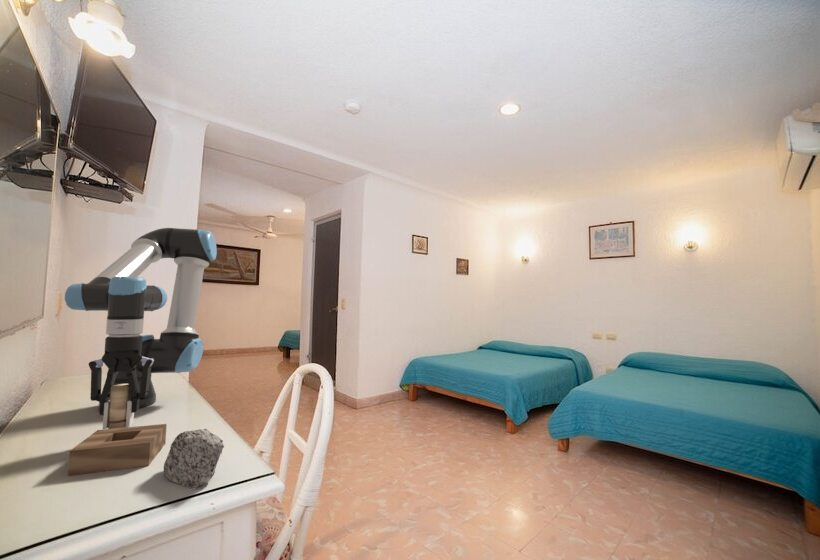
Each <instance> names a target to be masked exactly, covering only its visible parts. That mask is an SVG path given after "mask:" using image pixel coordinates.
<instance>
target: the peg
mask: <svg viewBox="0 0 820 560" xmlns="http://www.w3.org/2000/svg"><path fill="white" fill-rule="evenodd" d="M129 400H130V390H129V384H118V385H113V386H111V395H110V409H109V420H108V428H107V429H115V428H126V416H127V401H129Z"/></svg>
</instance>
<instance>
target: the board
mask: <svg viewBox="0 0 820 560" xmlns="http://www.w3.org/2000/svg"><path fill="white" fill-rule="evenodd" d="M167 426H168V425H167V423H160V424H152V425H150V424H149V425H137V426H130V427H126V428H115V429H108V428H107V429H97V430H95V431H94V432H93V433H91V435H89V436H88V437H86V438H85V439H84V440H82V441H81V442H79V443H78V444H76V446H74V447H73V448H72V449H70V450H69V454H68V467H67V476H76V475H83V474H91V473H99V472H108V471H115V470H116V471H117V470H124V469H131V468H133V469H134V468H140V467H149V466H150V464H152V462H153V461H154V460H155V459H156V457H157V455H158V454H159V453H160V452H161V450H162V449H163V448H164V446H165V445H166V438H167Z"/></svg>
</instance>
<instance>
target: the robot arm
mask: <svg viewBox="0 0 820 560" xmlns="http://www.w3.org/2000/svg"><path fill="white" fill-rule="evenodd" d="M217 249H218V248H217V243H216V239H215V236H214V235H213V233H212V232H211V231H209V230H206V229H205V230H203V229H200V228H198V229H192V228H176V227H163V228H162V227H161V228H158V229H155V230H151V231H150V232H146V233H145V234H143V235H141V236H139V237H138V238H137V239H135V240H134V241H133V242H132V243H131V245H130V249H128V250H127V251H126V252H125V253H124V254H122V255H121V256H120V257H119V258H117V259H116V260H115V261H113V262H112V263H111V264H110V265H108V266H107V267H106V268H105V269H104V270H103V271H101V272H100V273H99V274H98V275H96V276H95V277H94V278H93V279H92V280H90V281H88V283H83V282H80V283H72V284H70V285H69V286H68V287H67V288H66V289H65V290H66V291H65V292H64V301H65V305H66V306H67V307H68V308H69V309H71V310H74V311H75V310H76V311H85V312H90V311H91V312H92V311H95V312H96V311H98V312H99V311H102V312H103V311H105V312H107V316H106V327H105V328H106V329H105V334H106V335H108V336H107V337H105V341H104V354H103V355H102V357H101V358H99V359H94V360H91V361H89V363H88V366H89V369H90V371H91V372H90V374H91V375H90V398H89V399H90V400H91V402H92V401H93V402H94V401H95V402H98V410H99V412H98V413H99V415H100V416H103V417H102V418H103V419H102V430H104V429H108V420H109V409H110V395H111V386H113V385H118V384H129V390H130V400H129V401H127V416H126V427H132V425H133V424H134V422H135V421H134V419H135V413H136V412H138V411H139V409H141V408H144V407H147V406H150V405H153V404H155V403H156V401H157V393H156V391H155V387H154V385H153V381H152V374H168V373H169V374H171V373H172V374H174V373H176V374H181V373H189V372H192V371H194V370H195V369H196V368H197V367H198V366H199V364H200V363H201V360H202V356H203V353H204V341H203V340H202V339H201V338H200V334H199V333H198V331H196V325H197V317H198V311H199V305H200V298H201V292H202V286H203V278H204V273H205V269H206V268H208V267H209V266H210V262H211V261H215V260H216V258H217V254H218V253H217V251H218V250H217ZM162 259H173V262H174V263H175V264H176V265H177V268H176V273H175V279H174V285H173V291H172V296H171V303H170V308H169V315H168V319H167V325H166V328H165V329H164V330H163V331H162V332H160V336H159V338H155V335H154V334H144V335H141V334H143V333H144V319H145V316H144V315H145V312H154V311H157V310H160V309H162V308H163V307H164V306H165V305H166V303H167V301H168V295H167V293H166V291H165V290H164V289H163V288H162V287H160V286H156V285H147V280H146V279H145V278H144V277H139V276H140V275H141V274H142V273H143V272H145V270H147V268H148V267H149V266H151V264H154V263H157V262H158V261H160V260H162ZM104 365H105V366H106V367H107V368H108V370H107V373H106V379H105V382H104V384H103V388H102V376H103V375H102V373H103V371H102V370H103V369H102V367H103V366H104Z"/></svg>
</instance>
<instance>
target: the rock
mask: <svg viewBox="0 0 820 560" xmlns="http://www.w3.org/2000/svg"><path fill="white" fill-rule="evenodd" d="M224 448H225V445H224V441H223V439H222V438H220V436H218V435H216V434H214V433H212V432H211V431H210V430H209V429H207V428H203V429H202V428H201V429H200V428H199V429H195V430H187V431H186V430H185V431H182V432H180V433H179V434H177V436H176V437H174V439H173V441H172V443H171V444H170V449H169V452H168V454H167V456H166V459H165V461H164V463H163V473H164V475H165V477H166V478H167V479H168V480H169V481H171V482H173V483H176V484H177V485H181V486H183V487H184V488H185V487H186V488H189V489H192V490H193V489H196V488H198V487H200V486H202V485H204V484H205V485H206V484H208V482H210V481H211V480H212V479H213V476H214V475H215V474H216V468H217V467H218V466H217V464H218V462H219V459H220V456H221V454H222V453H223V449H224Z"/></svg>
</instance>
